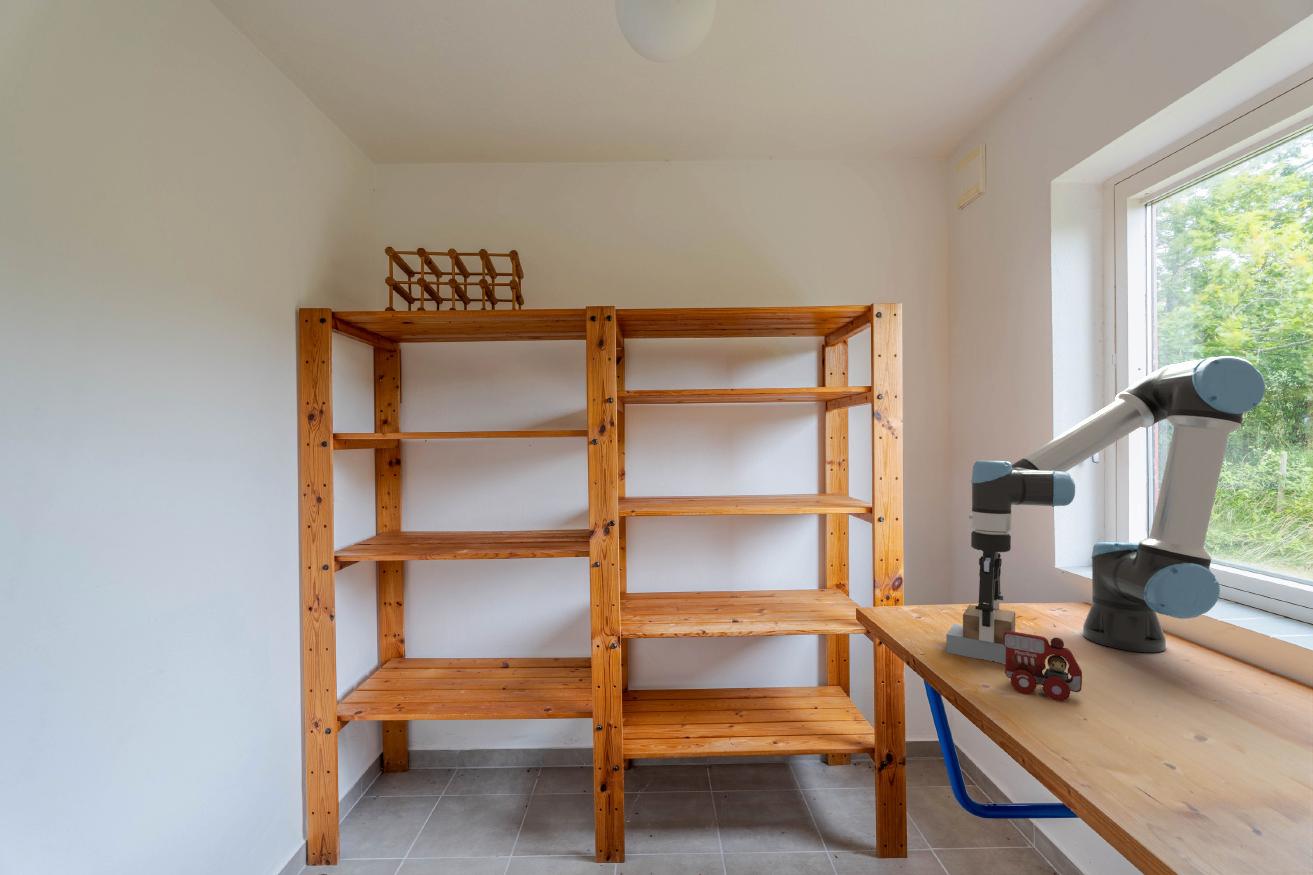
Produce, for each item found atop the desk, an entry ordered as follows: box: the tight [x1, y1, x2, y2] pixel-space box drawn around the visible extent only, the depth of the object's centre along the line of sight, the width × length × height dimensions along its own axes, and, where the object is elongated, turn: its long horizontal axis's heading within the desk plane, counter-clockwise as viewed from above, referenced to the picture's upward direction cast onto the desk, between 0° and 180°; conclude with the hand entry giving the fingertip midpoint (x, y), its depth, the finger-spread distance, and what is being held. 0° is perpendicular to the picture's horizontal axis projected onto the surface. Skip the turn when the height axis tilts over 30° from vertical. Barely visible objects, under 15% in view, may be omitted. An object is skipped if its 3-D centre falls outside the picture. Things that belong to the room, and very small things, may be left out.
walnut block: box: [962, 604, 1016, 645], centre depth 129 cm, size 9×9×5 cm
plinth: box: [945, 623, 1006, 665], centre depth 129 cm, size 16×9×4 cm, turn 54°
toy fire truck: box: [1003, 631, 1083, 702], centre depth 110 cm, size 7×12×10 cm, turn 56°
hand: (989, 634), depth 129 cm, fingers open, 9 cm apart
